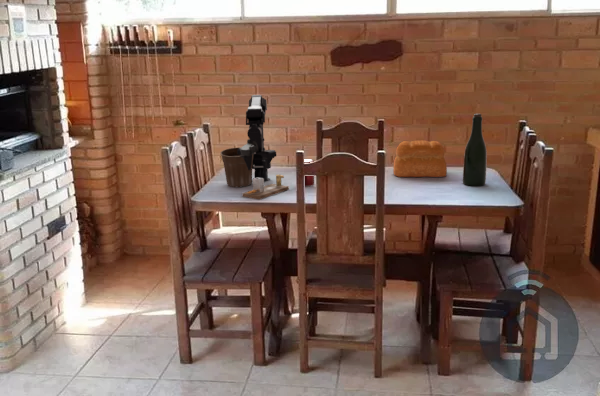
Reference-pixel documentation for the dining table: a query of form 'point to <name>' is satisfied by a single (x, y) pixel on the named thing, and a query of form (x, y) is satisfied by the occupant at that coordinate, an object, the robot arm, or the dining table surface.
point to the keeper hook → (278, 180)
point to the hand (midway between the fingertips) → (257, 171)
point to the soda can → (309, 179)
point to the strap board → (266, 191)
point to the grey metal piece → (257, 185)
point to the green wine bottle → (475, 156)
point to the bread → (420, 159)
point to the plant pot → (236, 168)
